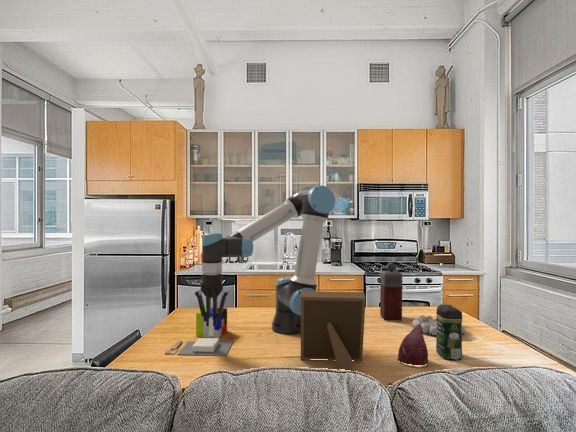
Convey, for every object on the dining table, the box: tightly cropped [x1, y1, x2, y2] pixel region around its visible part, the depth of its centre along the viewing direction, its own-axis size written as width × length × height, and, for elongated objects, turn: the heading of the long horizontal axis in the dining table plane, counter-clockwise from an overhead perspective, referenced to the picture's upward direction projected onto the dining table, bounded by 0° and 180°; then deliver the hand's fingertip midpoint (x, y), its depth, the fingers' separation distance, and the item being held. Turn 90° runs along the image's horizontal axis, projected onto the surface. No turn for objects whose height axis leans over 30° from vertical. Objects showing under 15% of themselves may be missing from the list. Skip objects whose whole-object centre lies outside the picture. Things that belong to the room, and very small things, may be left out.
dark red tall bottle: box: [379, 262, 403, 321], centre depth 187 cm, size 9×11×28 cm
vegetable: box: [397, 324, 429, 365], centre depth 132 cm, size 10×10×15 cm
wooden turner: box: [164, 340, 183, 356], centre depth 143 cm, size 4×12×1 cm, turn 178°
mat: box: [176, 340, 234, 357], centre depth 143 cm, size 18×14×1 cm
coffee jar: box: [435, 304, 463, 360], centre depth 137 cm, size 10×8×19 cm
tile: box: [192, 337, 220, 352], centre depth 143 cm, size 2×9×8 cm
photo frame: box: [300, 290, 367, 370], centre depth 128 cm, size 15×22×25 cm
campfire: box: [411, 315, 467, 336], centre depth 166 cm, size 22×21×6 cm
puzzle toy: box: [195, 306, 228, 339], centre depth 161 cm, size 10×10×10 cm
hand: (211, 334), depth 142 cm, fingers closed
